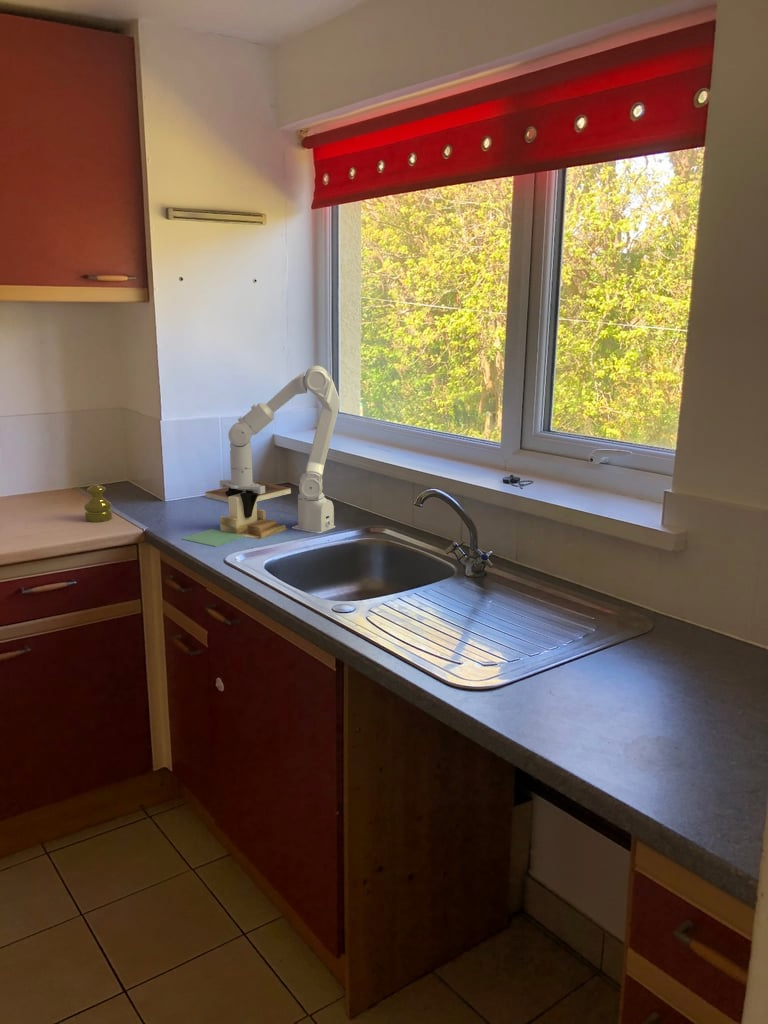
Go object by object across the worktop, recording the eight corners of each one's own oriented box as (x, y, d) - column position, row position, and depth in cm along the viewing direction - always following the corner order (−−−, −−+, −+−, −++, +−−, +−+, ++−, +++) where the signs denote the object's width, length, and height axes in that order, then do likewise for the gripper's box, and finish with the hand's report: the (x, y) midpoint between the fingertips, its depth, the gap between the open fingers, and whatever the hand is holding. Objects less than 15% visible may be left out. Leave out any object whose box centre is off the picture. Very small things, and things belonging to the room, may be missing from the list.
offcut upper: (277, 525, 227) (277, 521, 227) (259, 532, 221) (259, 527, 221) (265, 523, 229) (265, 519, 229) (247, 529, 223) (247, 525, 223)
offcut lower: (280, 529, 228) (280, 525, 228) (261, 536, 221) (260, 532, 221) (267, 527, 230) (266, 522, 230) (247, 533, 224) (247, 529, 223)
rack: (288, 530, 229) (288, 514, 228) (259, 540, 219) (259, 524, 218) (249, 522, 236) (248, 507, 235) (220, 532, 226) (219, 516, 225)
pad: (244, 537, 221) (244, 535, 221) (216, 548, 212) (215, 546, 212) (211, 530, 227) (211, 528, 227) (181, 540, 218) (181, 538, 218)
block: (257, 523, 232) (256, 492, 230) (237, 530, 225) (236, 498, 223) (249, 522, 233) (248, 490, 231) (229, 528, 227) (228, 496, 225)
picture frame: (239, 507, 255) (291, 495, 271) (239, 499, 254) (290, 487, 270) (205, 499, 265) (256, 487, 281) (204, 491, 264) (256, 480, 280)
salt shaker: (116, 516, 241) (114, 482, 239) (105, 523, 234) (103, 488, 232) (92, 515, 242) (89, 481, 240) (80, 522, 235) (77, 487, 232)
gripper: (211, 466, 226) (213, 515, 229) (252, 473, 218) (253, 523, 222) (228, 462, 231) (230, 509, 235) (269, 468, 224) (271, 517, 227)
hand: (243, 516), depth 229 cm, fingers closed on block, 3 cm apart
